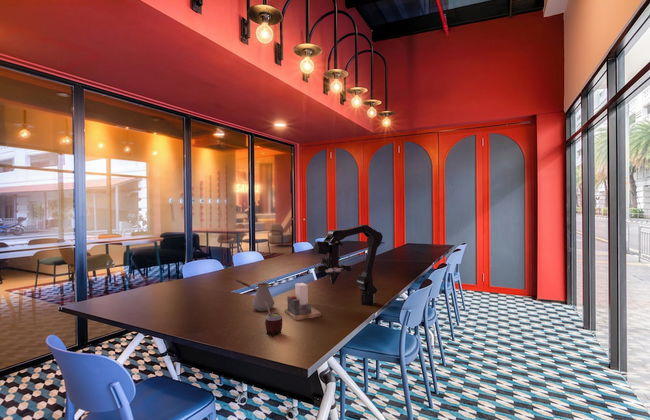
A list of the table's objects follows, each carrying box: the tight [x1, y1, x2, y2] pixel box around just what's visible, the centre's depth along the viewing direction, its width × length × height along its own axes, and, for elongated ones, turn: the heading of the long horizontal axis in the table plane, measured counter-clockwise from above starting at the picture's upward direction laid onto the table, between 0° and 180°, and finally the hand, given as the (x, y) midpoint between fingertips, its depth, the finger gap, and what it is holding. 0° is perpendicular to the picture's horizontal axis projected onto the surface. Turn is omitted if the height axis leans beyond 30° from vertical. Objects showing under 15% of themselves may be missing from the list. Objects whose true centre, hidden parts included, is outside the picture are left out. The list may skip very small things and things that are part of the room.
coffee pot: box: [234, 279, 275, 312], centre depth 179 cm, size 21×12×15 cm, turn 80°
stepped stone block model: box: [284, 295, 322, 321], centre depth 168 cm, size 14×14×10 cm
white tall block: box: [294, 282, 309, 306], centre depth 168 cm, size 4×6×13 cm, turn 27°
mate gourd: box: [263, 301, 283, 337], centre depth 142 cm, size 8×8×15 cm
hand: (332, 284), depth 175 cm, fingers closed
